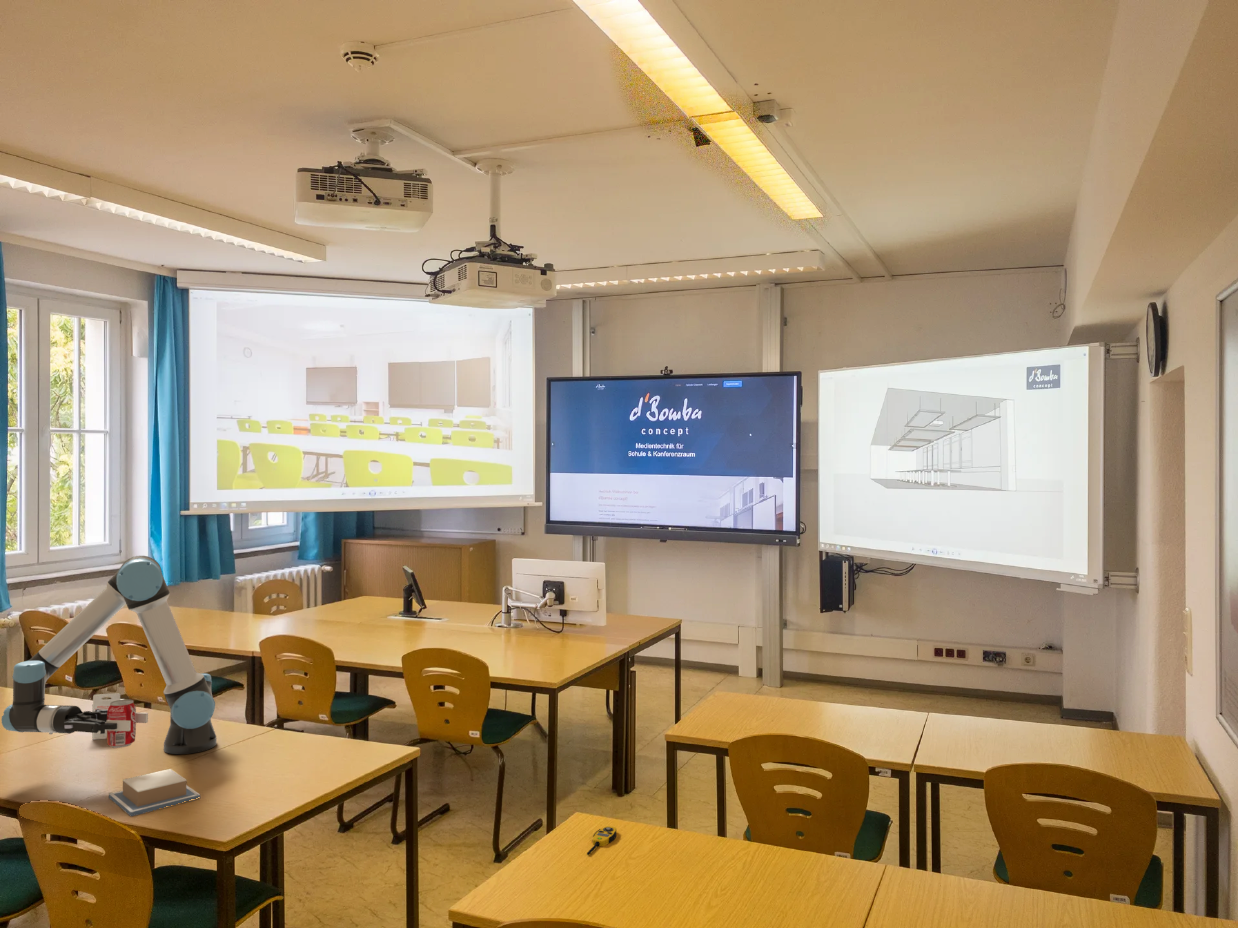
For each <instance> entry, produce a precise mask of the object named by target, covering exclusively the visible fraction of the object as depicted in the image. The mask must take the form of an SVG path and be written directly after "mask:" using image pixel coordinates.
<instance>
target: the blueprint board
mask: <svg viewBox="0 0 1238 928" xmlns="http://www.w3.org/2000/svg"><path fill="white" fill-rule="evenodd" d="M198 797H200V798H201V794H200V793H199V792H197V791H196V790H194V788H191V787H190V786H189V785H188V784H187V779H186V778H185V777H183V776H182V775H181V774H179V773H177V772H176V771H175V770H173V769H172V768H169V769H164V770H163V769H162V770H159V771H156V772H151V773H147V774H141V775H138V776H133V777H128V778H125V779H122V790H120V791H114V792H110V793H108V799H110V800H111V801H112V802H113V803H115V805H116V806H118V807H119V808H121V810H123V811H124V812H125V813H126V814H127V815H128V816H130V817H134V816H138V815H143V814H146V812H147V813H150V812H154V811H157V809H158V810H160V809H159V808H162V809H165V808H164V807H166V806H170V807H172V806H171V805H174V806H177V805H176V804H178V803H182V802H184V801H189V800H191V799H196V798H198ZM189 802H190V801H189ZM182 804H183V803H182ZM178 805H179V804H178ZM166 808H167V807H166ZM153 810H154V811H153Z"/></svg>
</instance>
